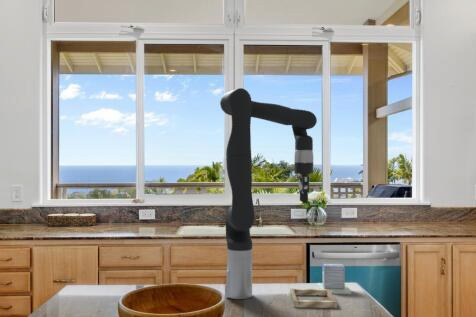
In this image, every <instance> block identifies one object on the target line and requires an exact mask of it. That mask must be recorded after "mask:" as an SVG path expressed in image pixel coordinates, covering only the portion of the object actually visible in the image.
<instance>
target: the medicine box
mask: <svg viewBox="0 0 476 317" xmlns="http://www.w3.org/2000/svg"><path fill="white" fill-rule="evenodd" d="M321 267H322V273H321V274H322V282H321V283H323V287H324V289H345V284H346V282H345V281H346V280H345V279H346V278H345V277H346V275H345V274H346V272H345V271H346V270H345V268H346V267H345V266H344V264H342V263H322V266H321Z"/></svg>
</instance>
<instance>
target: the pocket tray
mask: <svg viewBox="0 0 476 317" xmlns="http://www.w3.org/2000/svg"><path fill="white" fill-rule="evenodd" d="M289 293H290V298H291V301H292V305H293V308H307V309H308V308H311V309H312V308H313V309H316V308H317V309H338V301H337V299H336V298H335V296H334V294H332V293H331V291H330V289H319V288H290V292H289ZM316 295H319V297H320V296H321V297H323V296H324V297H325V296H326V297H327V298H328V300H315V299H314V300H312V299H311V300H309V299H308V300H307V299H306V300H305V299H304V300H303V299H298V298H297V296H316Z"/></svg>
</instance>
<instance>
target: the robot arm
mask: <svg viewBox="0 0 476 317" xmlns="http://www.w3.org/2000/svg"><path fill="white" fill-rule="evenodd" d="M219 105H220V108H221V110H222V112H224V113H225V114H226V115H228V116H231V129H230V135H229V138H228V142H227V146H226V150H225V151H226V153H225V160H226V161H225V162H226V172H227V177H228V180H229V185H230V188H231V196H232V198H231V206H229V207H228V209H227V211H226V213H225V214H226V215H225V241H226V246H227V247H226V256H227V257H226V286H225V287H226V288H225V289H226V293H225V294H226V295H225V296H226V298H227V299H228V298H229V299H233V300H246V299H250V298H252V296H253V240H252V238H251V232H250V231H251V230H250V229H251V228H252V227H253V226H254V223H255V219H256V217H255V216H256V215H255V214H256V213H255V208H254V200H253V191H252V189H253V183H252V181H253V179H252V178H253V175H252V174H253V173H252V170H253V169H252V142H251V141H252V140H251V138H252V135H251V120H252V118H254V119H255V118H256V119H260V120H264V121H268V122H271V123H275V124H280V125H283V126H291V128H292V132H293V134H292V135H293V136H294V150H295V151H294V158H293V159H294V164H293V166H294V167H293V168H294V170H293V171H294V174H299V176H298V191H299V201H300V202H301V203H302V204H308V203H309V193H310V176H309V175H311V174H312V175H313V174H314V149H313V148H314V144H313V142H314V140H313V137H312V136H311V135H308V132H307V130H310V129H313V128H314V127H315V126H316V124H317V122H318V120H317V116H316V114H315V113H314V112H312V111H309V110H306V109H298V108H292V107H289V106H284V105H281V104H276V103H269V102H260V101H259V102H258V101H253V100H252V97H251V94H250V93H249V92H248V90H247V89H245V88H242V87H241V88H239V87H237V88H236V89H232V90H229V91H227V92H226V93H224V94H223V95H222V96H221V98H220V100H219Z"/></svg>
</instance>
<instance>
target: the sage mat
mask: <svg viewBox="0 0 476 317" xmlns="http://www.w3.org/2000/svg"><path fill="white" fill-rule="evenodd" d="M316 284H317V288H318V287H319V288H318V289H324V287H323V282H317V283H316ZM330 291H331V293H332V294H333V295H352V291H351V289H350V288H349V287H348V286H347V284H346V283H345V289H330Z"/></svg>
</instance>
